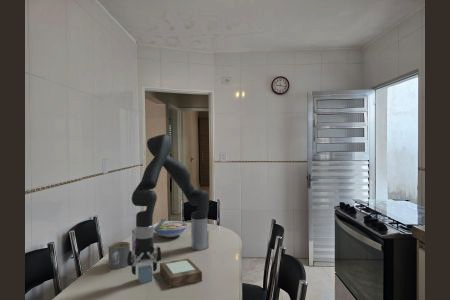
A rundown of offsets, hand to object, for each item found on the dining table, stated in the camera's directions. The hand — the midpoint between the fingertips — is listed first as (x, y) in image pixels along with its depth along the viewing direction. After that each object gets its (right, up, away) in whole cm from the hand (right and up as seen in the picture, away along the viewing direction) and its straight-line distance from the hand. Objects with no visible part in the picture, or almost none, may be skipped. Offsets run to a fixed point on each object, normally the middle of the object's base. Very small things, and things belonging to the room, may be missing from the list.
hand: (144, 272), depth 134 cm
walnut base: (+15, -3, +4) cm, 16 cm away
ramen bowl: (-1, -3, +66) cm, 66 cm away
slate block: (0, -3, 0) cm, 3 cm away
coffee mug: (-17, -4, +16) cm, 24 cm away
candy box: (-8, -3, +29) cm, 31 cm away
